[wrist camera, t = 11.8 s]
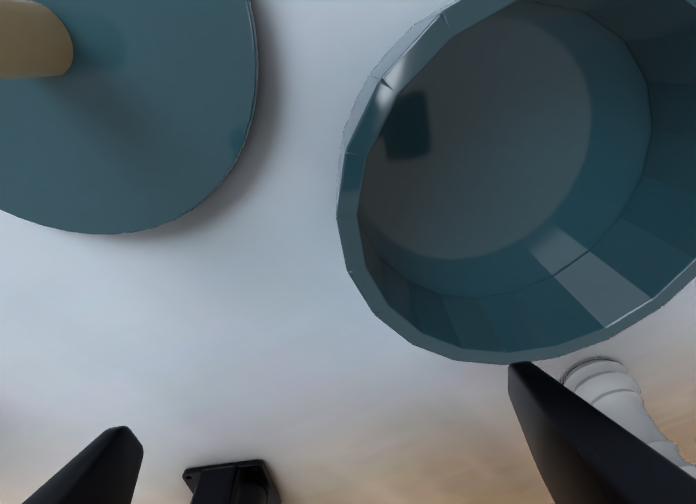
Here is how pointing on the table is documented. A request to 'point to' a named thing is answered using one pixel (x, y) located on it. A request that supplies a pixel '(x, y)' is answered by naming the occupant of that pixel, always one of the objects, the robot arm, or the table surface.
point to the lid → (121, 108)
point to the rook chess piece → (622, 404)
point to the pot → (524, 175)
